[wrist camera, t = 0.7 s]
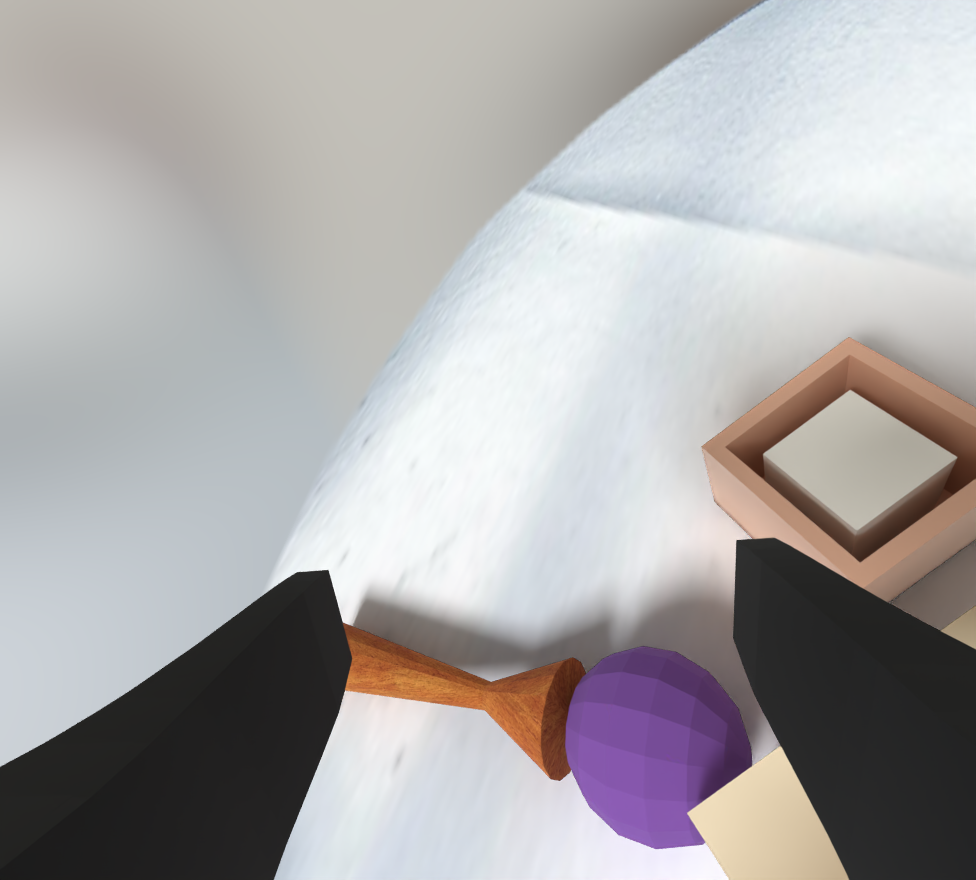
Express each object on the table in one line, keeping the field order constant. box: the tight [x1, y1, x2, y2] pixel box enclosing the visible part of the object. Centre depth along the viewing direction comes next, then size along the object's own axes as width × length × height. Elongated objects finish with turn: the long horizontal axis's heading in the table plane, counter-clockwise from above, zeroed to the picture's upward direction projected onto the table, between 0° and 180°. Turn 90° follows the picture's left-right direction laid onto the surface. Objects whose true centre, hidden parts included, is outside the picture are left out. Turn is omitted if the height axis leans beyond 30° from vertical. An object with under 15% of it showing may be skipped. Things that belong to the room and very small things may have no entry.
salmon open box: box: [701, 337, 976, 603], centre depth 21 cm, size 7×7×5 cm
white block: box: [763, 390, 958, 562], centre depth 21 cm, size 4×4×4 cm
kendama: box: [343, 623, 752, 849], centre depth 23 cm, size 6×6×20 cm
